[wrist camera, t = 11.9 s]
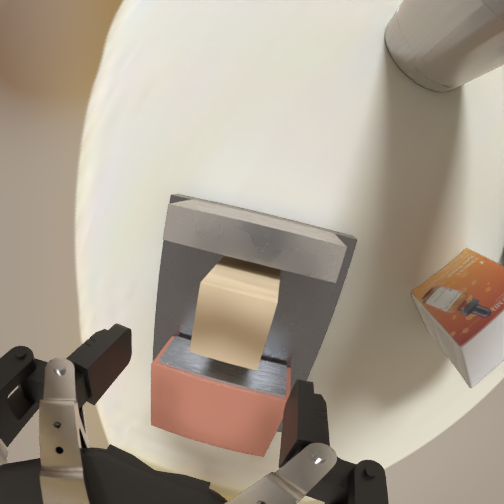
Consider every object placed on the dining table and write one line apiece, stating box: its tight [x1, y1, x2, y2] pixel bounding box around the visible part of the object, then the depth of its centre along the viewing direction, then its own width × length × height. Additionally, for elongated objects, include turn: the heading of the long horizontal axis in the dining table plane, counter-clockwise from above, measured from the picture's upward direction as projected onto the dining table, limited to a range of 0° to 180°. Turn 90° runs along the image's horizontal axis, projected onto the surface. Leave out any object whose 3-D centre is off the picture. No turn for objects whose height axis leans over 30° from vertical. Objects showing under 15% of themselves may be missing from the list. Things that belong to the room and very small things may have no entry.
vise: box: [153, 194, 357, 432], centre depth 24 cm, size 24×16×6 cm
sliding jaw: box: [151, 336, 291, 457], centre depth 25 cm, size 9×12×5 cm
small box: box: [411, 248, 504, 388], centre depth 18 cm, size 8×6×10 cm
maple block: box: [190, 255, 281, 370], centre depth 20 cm, size 5×4×8 cm
